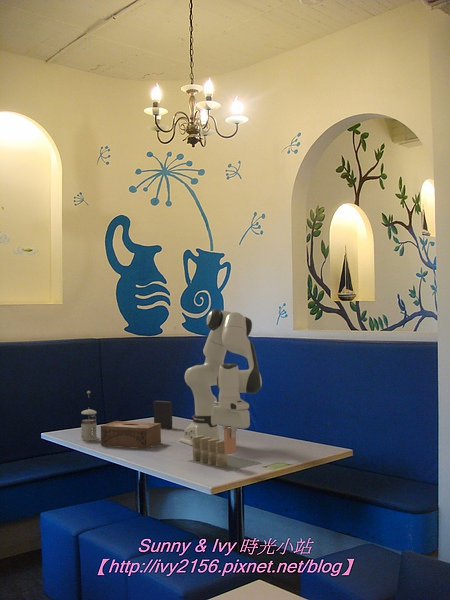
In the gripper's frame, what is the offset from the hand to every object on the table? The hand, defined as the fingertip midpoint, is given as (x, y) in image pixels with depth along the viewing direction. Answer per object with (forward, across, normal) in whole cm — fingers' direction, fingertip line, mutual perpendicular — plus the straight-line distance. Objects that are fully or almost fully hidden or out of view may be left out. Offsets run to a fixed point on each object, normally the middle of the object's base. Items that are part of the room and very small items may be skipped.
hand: (230, 437), depth 261 cm
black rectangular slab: (+13, -100, +40) cm, 109 cm away
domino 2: (+12, -15, 0) cm, 20 cm away
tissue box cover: (+14, -74, +1) cm, 75 cm away
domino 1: (+12, -20, 0) cm, 24 cm away
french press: (+13, -102, -6) cm, 103 cm away
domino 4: (+12, -5, 0) cm, 13 cm away
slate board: (+13, -9, +5) cm, 17 cm away
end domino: (+7, 0, 0) cm, 7 cm away
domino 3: (+12, -10, 0) cm, 16 cm away
